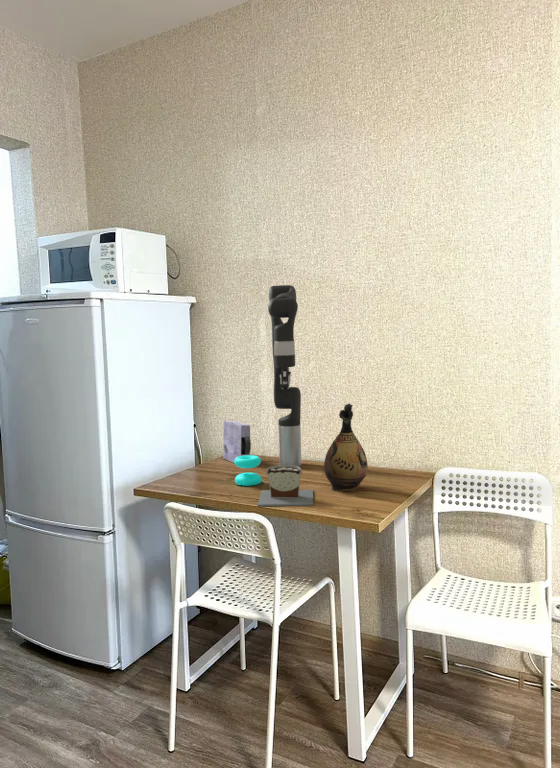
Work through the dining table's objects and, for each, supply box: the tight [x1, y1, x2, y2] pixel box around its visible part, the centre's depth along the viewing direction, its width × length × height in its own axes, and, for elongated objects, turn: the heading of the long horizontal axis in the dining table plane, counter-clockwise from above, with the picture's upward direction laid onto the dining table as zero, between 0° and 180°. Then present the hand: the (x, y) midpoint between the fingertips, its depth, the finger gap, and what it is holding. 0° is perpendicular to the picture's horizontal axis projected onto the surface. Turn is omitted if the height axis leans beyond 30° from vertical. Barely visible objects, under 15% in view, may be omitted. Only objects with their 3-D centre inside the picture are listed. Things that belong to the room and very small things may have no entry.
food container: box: [265, 464, 303, 498], centre depth 206 cm, size 12×6×10 cm, turn 79°
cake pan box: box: [222, 419, 252, 464], centre depth 266 cm, size 19×5×18 cm, turn 30°
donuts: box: [233, 454, 263, 487], centre depth 227 cm, size 10×10×10 cm
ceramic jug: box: [323, 403, 369, 493], centre depth 216 cm, size 17×15×30 cm
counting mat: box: [257, 489, 314, 507], centre depth 205 cm, size 18×18×1 cm
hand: (286, 398), depth 221 cm, fingers open, 8 cm apart
